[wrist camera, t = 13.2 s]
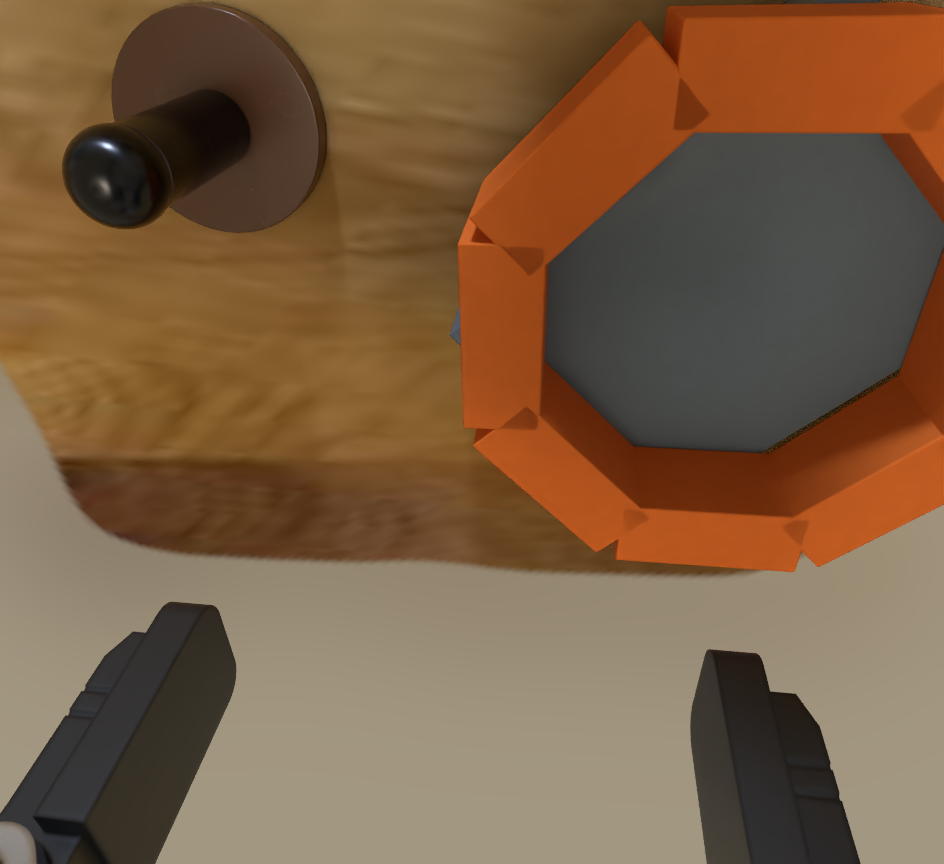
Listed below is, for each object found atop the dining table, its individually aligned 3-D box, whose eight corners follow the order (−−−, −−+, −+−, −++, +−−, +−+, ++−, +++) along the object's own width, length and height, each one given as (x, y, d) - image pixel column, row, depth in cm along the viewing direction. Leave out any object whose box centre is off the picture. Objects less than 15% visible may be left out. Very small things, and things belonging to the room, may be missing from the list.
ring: (820, -169, 16) (872, -193, 14) (1125, 313, 22) (1211, 371, 19) (375, 291, 24) (347, 338, 21) (678, 564, 29) (689, 632, 27)
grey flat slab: (827, -38, 20) (857, -36, 18) (1016, 244, 23) (1058, 273, 21) (458, 305, 27) (448, 335, 25) (645, 481, 30) (650, 520, 28)
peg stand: (190, -54, 21) (15, -53, 15) (368, 124, 24) (286, 194, 17) (88, 122, 25) (-92, 188, 18) (253, 263, 27) (146, 368, 20)
